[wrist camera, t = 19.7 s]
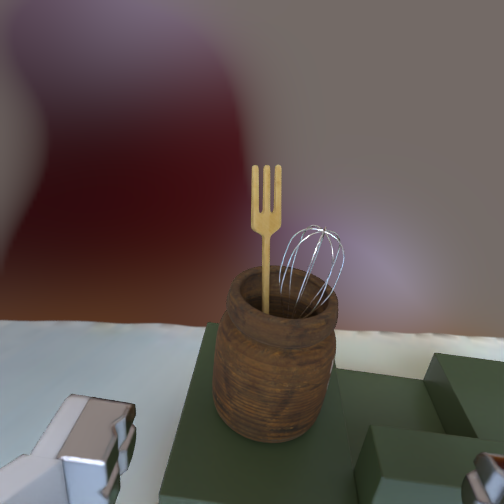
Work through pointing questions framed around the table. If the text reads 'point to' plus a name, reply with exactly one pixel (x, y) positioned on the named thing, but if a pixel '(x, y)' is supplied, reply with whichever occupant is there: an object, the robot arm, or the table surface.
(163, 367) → the table surface
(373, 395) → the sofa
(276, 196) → the utensil holder
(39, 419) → the table surface
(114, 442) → the robot arm
